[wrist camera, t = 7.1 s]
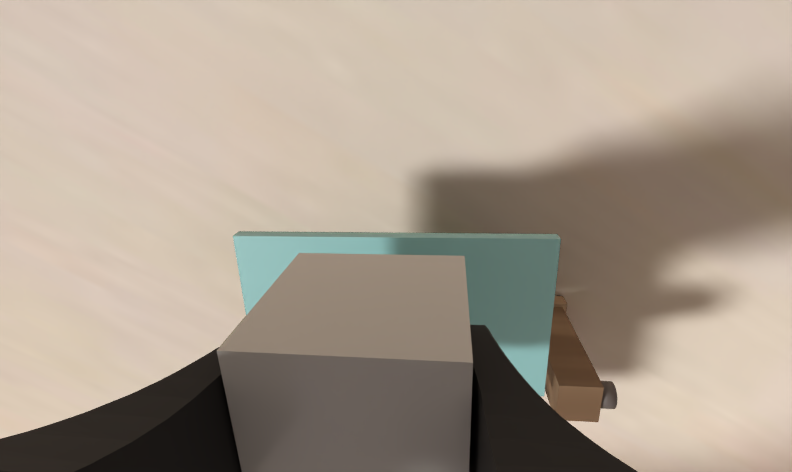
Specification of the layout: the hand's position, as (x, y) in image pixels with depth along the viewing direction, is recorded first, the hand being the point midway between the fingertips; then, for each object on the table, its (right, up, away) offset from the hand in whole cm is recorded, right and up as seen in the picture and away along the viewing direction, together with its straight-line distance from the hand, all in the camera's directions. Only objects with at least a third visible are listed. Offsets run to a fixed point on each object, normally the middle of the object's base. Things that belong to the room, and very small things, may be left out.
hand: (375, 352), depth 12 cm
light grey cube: (0, 0, -1) cm, 1 cm away
